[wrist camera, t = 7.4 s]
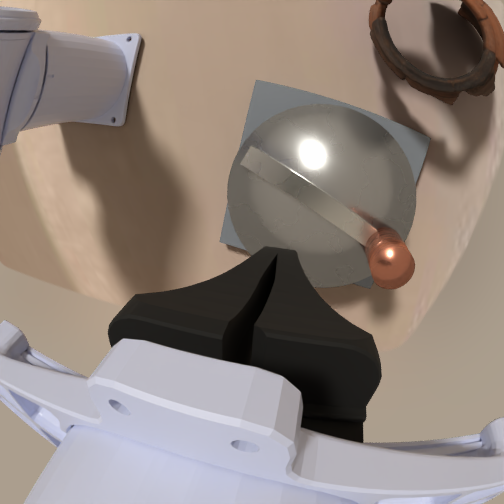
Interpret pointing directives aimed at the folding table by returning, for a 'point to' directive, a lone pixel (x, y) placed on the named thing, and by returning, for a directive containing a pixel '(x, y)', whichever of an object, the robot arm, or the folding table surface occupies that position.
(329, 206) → the handwheel
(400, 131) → the wheel base
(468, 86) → the brown curved ring
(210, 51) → the folding table surface
